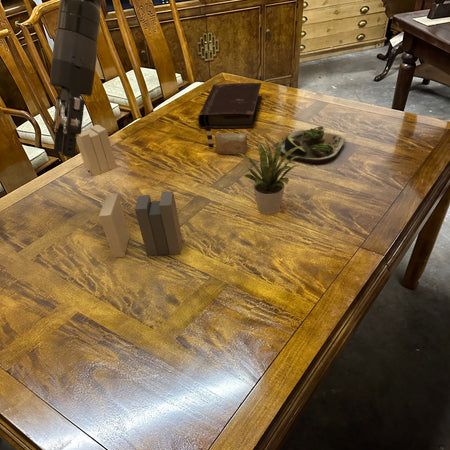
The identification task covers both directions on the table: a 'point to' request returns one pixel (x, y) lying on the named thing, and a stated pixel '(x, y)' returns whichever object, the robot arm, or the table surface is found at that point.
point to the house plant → (270, 178)
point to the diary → (231, 106)
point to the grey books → (159, 224)
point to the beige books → (96, 150)
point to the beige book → (114, 225)
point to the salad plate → (312, 146)
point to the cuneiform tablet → (228, 142)
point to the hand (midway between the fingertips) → (63, 154)
